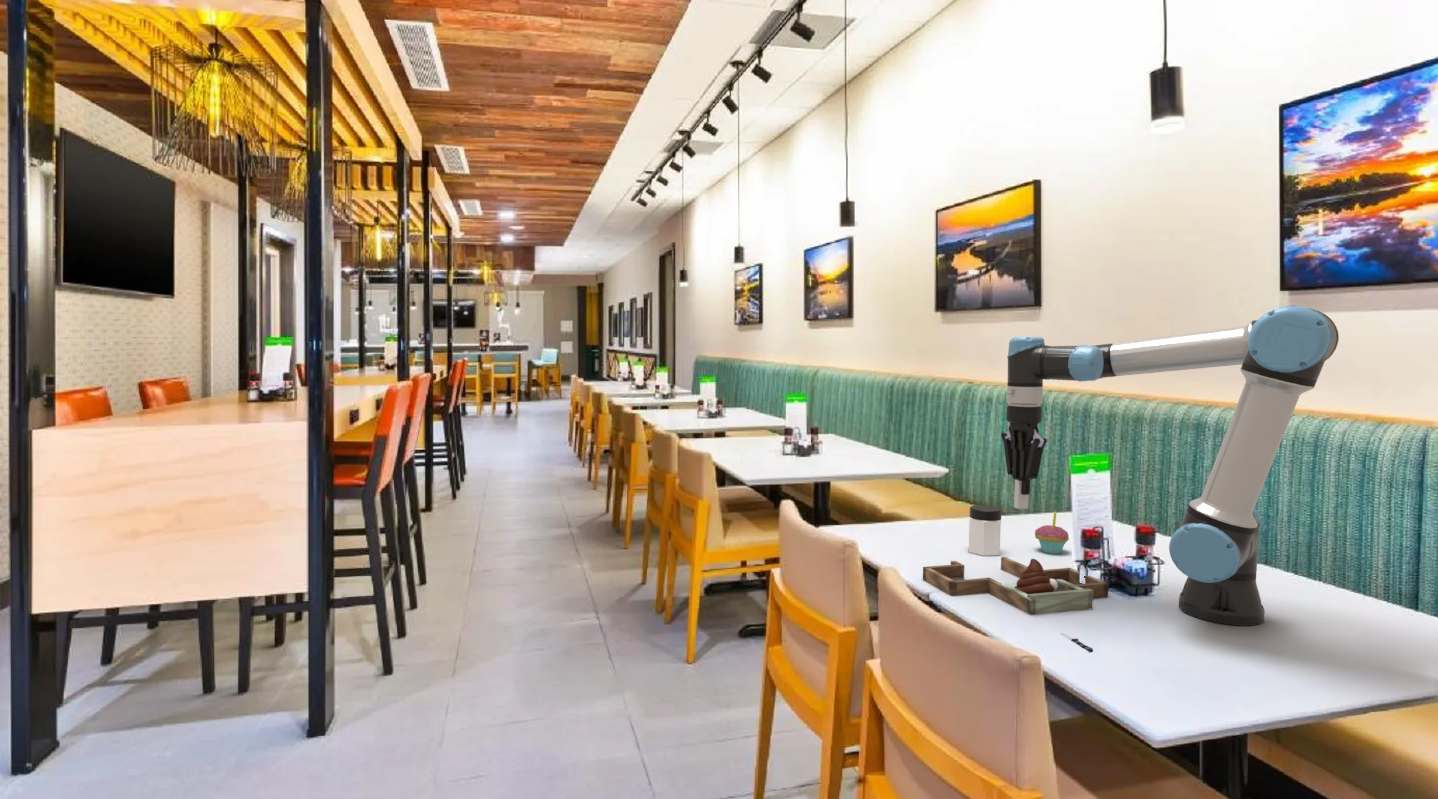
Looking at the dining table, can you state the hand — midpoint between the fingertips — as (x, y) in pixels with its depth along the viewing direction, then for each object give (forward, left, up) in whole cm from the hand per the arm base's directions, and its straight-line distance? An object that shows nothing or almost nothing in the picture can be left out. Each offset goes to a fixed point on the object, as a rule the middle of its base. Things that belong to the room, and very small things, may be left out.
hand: (1021, 507), depth 179 cm
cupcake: (+25, -29, -19) cm, 42 cm away
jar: (+29, -11, -19) cm, 36 cm away
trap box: (-1, +1, -19) cm, 19 cm away
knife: (-26, +11, -19) cm, 34 cm away
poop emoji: (-9, +3, -19) cm, 21 cm away
